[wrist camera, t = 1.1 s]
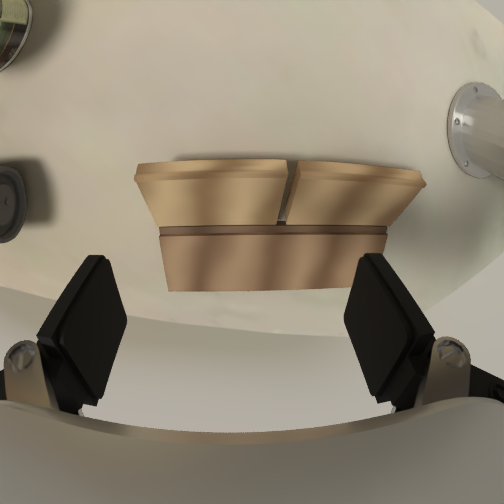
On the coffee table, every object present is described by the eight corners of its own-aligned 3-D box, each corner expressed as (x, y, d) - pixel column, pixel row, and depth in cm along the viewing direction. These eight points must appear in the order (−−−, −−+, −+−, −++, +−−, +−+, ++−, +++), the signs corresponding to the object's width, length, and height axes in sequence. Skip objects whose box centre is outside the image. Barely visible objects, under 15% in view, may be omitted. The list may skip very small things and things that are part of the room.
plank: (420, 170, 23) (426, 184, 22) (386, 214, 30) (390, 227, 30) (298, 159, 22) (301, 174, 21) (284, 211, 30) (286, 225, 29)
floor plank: (383, 222, 31) (389, 228, 30) (369, 278, 35) (373, 285, 34) (161, 223, 30) (158, 229, 29) (170, 283, 34) (168, 291, 33)
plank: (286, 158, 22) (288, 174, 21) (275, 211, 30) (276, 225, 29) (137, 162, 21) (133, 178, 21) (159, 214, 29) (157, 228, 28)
